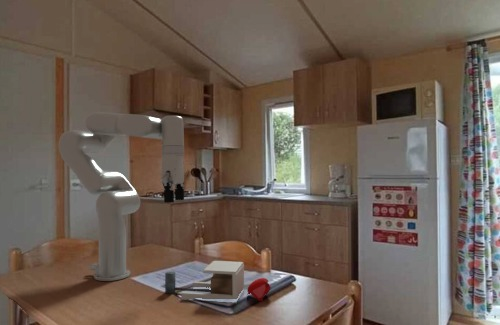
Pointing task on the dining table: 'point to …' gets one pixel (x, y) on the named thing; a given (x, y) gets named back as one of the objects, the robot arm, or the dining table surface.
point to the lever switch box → (220, 268)
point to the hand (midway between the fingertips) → (174, 201)
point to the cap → (259, 288)
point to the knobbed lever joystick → (218, 286)
